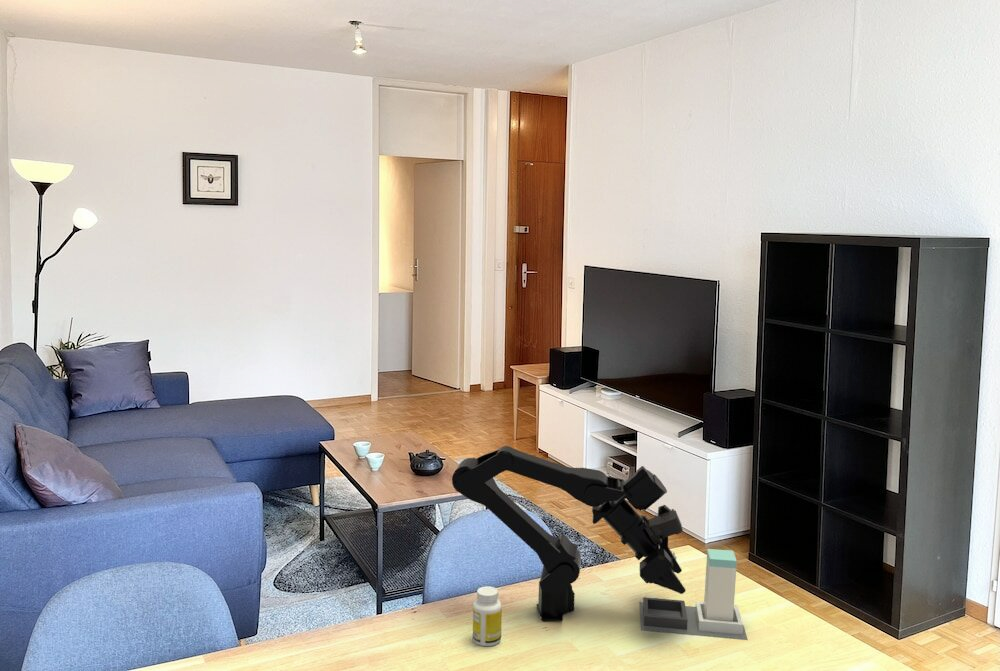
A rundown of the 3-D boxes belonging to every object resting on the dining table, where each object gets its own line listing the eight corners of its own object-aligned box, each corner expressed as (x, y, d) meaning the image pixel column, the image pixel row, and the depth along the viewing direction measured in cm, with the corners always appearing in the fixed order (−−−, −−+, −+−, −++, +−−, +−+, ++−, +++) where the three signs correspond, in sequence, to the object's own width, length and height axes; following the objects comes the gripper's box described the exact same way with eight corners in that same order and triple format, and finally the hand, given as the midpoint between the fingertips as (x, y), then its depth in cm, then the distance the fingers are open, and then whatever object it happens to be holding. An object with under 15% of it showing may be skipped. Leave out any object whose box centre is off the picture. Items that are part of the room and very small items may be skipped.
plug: (705, 627, 160) (710, 558, 158) (703, 615, 165) (707, 548, 163) (732, 629, 159) (736, 561, 157) (728, 617, 164) (733, 550, 162)
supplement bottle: (505, 635, 157) (506, 587, 156) (495, 649, 152) (496, 599, 151) (478, 630, 159) (479, 582, 158) (468, 644, 154) (469, 594, 152)
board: (640, 635, 158) (641, 620, 158) (639, 606, 170) (639, 592, 170) (747, 644, 156) (748, 629, 155) (738, 615, 167) (739, 601, 167)
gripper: (661, 515, 151) (719, 577, 151) (656, 483, 169) (708, 538, 169) (616, 552, 153) (673, 613, 153) (616, 517, 172) (667, 571, 172)
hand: (681, 581), depth 162 cm, fingers open, 9 cm apart
